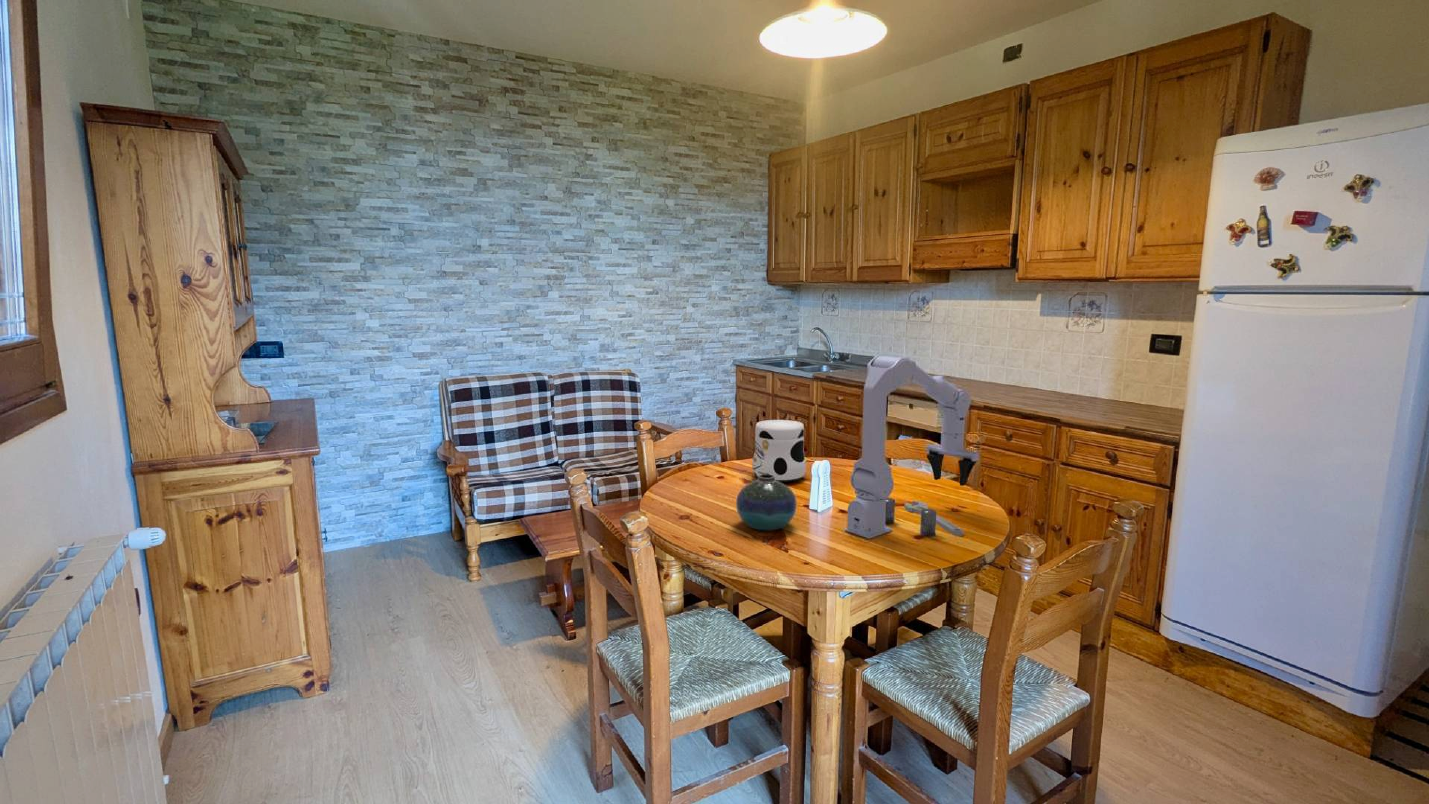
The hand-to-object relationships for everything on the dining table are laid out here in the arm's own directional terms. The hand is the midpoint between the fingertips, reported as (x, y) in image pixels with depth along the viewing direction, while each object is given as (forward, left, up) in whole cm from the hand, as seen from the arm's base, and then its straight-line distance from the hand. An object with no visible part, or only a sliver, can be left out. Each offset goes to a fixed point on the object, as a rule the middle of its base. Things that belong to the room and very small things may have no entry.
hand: (950, 482), depth 181 cm
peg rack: (-20, 0, -8) cm, 21 cm away
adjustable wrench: (-9, 0, -9) cm, 13 cm away
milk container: (-11, +54, -9) cm, 56 cm away
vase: (-46, +24, -9) cm, 53 cm away
